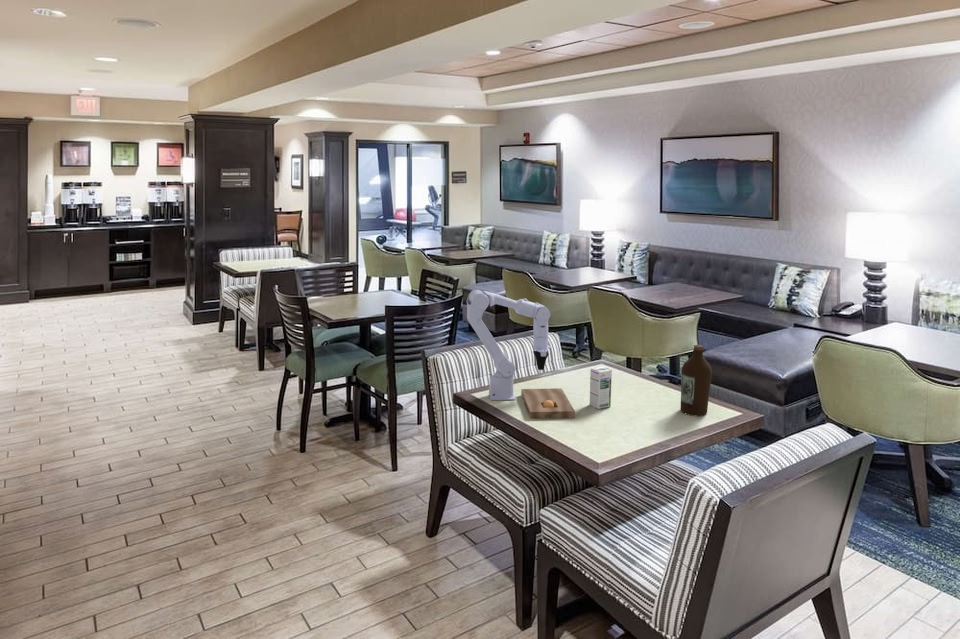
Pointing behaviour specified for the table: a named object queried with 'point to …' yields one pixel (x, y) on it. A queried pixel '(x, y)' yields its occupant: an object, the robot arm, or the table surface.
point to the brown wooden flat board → (539, 396)
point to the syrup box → (600, 387)
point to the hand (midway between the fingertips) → (540, 369)
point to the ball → (548, 404)
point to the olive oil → (695, 383)
